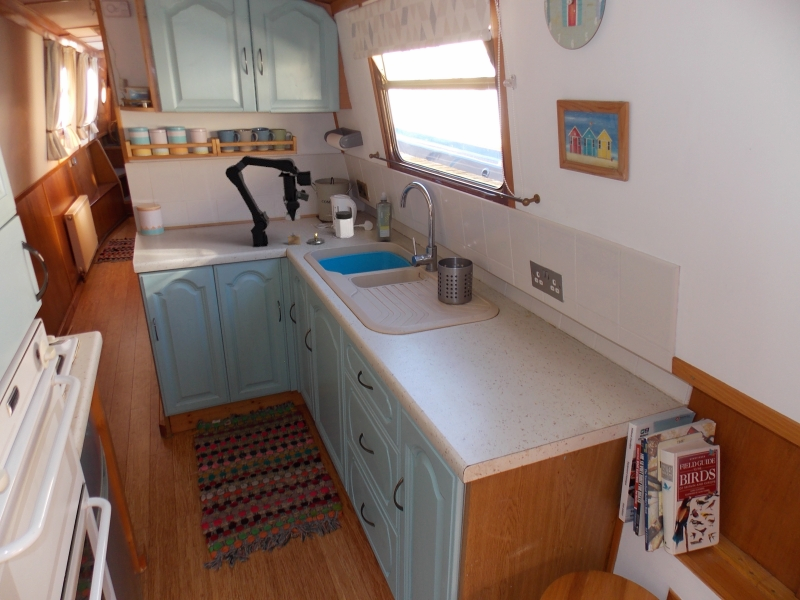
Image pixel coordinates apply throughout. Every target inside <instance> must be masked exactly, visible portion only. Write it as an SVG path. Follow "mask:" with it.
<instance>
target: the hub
mask: <svg viewBox="0 0 800 600" xmlns="http://www.w3.org/2000/svg"><path fill="white" fill-rule="evenodd" d="M313 236H314V238H308V239H307V244H308V245H311V246H318V245H322V244H325V242H326V240H325V238H321V237H319V235H318V232H314V233H313Z"/></svg>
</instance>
